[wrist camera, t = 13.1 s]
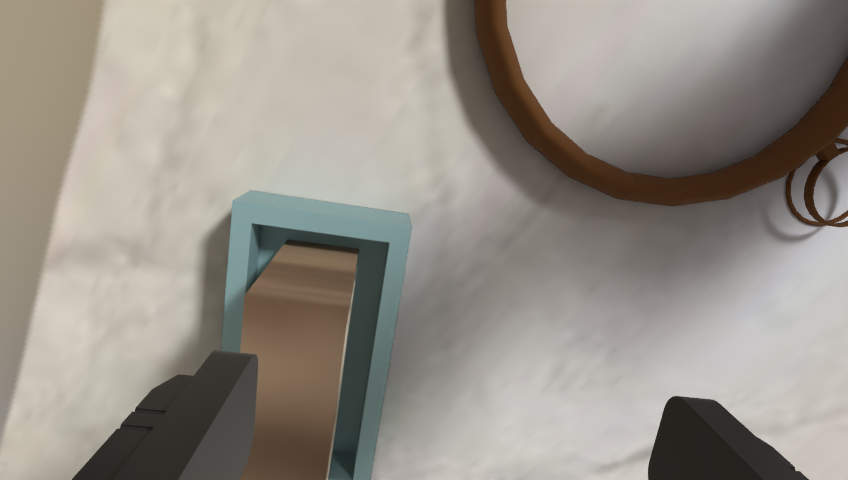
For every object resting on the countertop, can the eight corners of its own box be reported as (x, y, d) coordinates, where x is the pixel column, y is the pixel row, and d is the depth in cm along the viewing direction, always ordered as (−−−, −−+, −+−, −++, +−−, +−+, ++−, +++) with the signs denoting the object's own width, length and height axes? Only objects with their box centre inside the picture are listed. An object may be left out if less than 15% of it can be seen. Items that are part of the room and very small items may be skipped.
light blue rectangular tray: (250, 190, 28) (232, 200, 25) (408, 213, 29) (411, 226, 26) (228, 444, 32) (210, 483, 29) (369, 457, 33) (367, 496, 30)
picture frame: (286, 239, 28) (243, 295, 19) (359, 248, 28) (349, 307, 20) (268, 426, 31) (222, 550, 22) (335, 433, 31) (316, 556, 23)
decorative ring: (724, 359, 30) (372, -45, 24) (695, 338, 33) (373, -28, 26) (1073, 67, 28) (788, -486, 21) (1009, 71, 31) (739, -413, 24)
